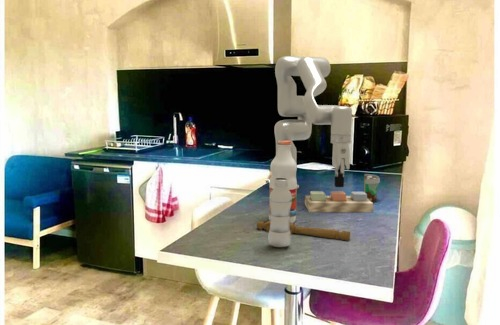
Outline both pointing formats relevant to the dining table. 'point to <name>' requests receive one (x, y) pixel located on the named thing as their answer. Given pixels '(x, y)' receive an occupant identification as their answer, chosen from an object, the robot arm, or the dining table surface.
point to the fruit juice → (284, 173)
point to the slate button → (358, 196)
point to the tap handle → (310, 231)
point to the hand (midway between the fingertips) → (339, 186)
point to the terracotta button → (338, 196)
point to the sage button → (317, 196)
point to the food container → (371, 186)
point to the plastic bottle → (280, 214)
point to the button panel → (338, 205)
